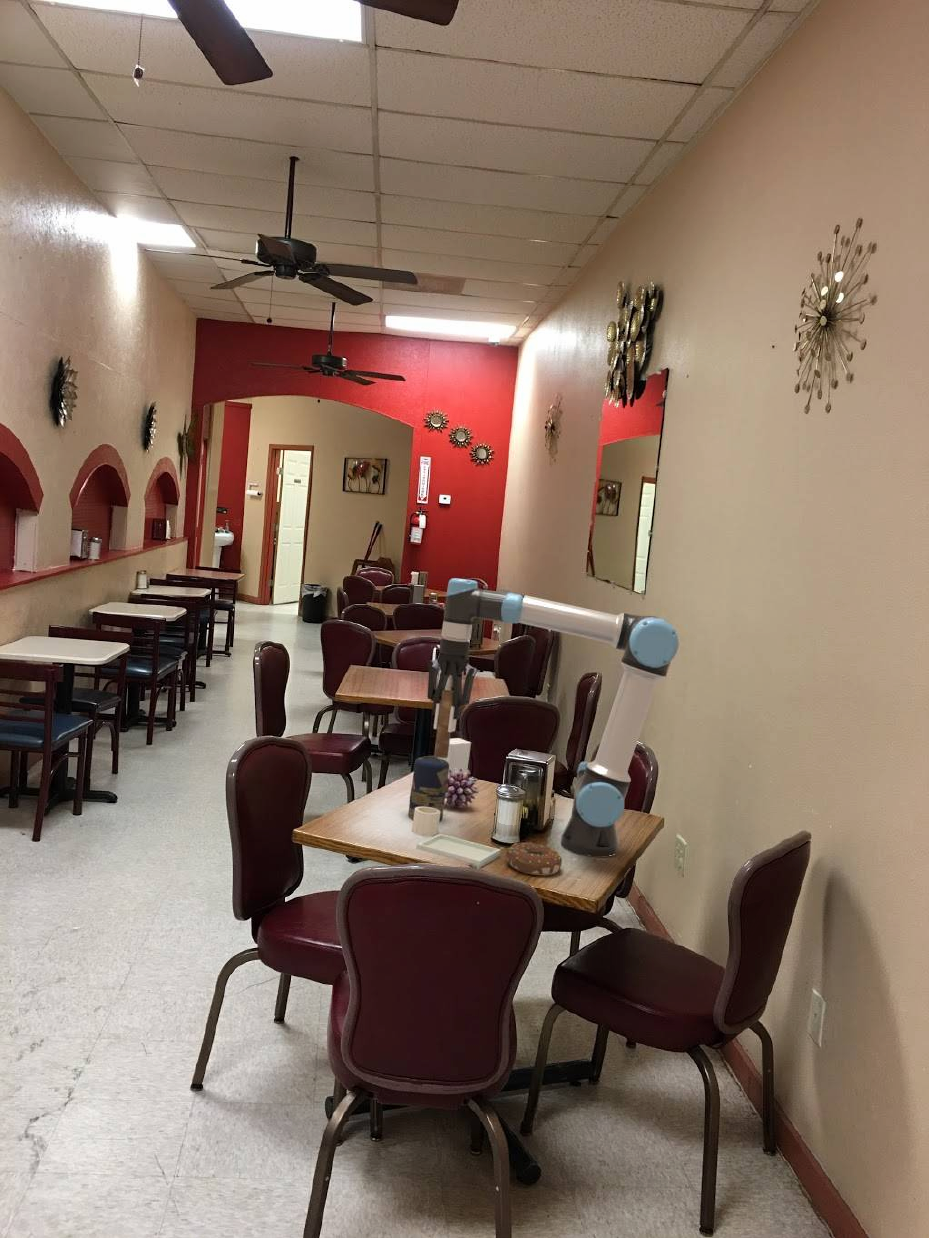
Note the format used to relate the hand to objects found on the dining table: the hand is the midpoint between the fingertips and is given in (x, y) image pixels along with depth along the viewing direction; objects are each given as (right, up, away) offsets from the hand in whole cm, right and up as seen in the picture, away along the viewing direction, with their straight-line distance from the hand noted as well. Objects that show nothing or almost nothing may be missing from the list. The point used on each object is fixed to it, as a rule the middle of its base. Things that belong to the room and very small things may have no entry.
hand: (444, 729), depth 259 cm
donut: (+22, -33, -12) cm, 41 cm away
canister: (-6, -27, +17) cm, 33 cm away
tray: (+4, -30, -9) cm, 31 cm away
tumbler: (-5, -28, +4) cm, 28 cm away
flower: (+2, -27, +35) cm, 45 cm away
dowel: (-1, -7, 0) cm, 7 cm away
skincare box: (0, -25, +57) cm, 62 cm away
